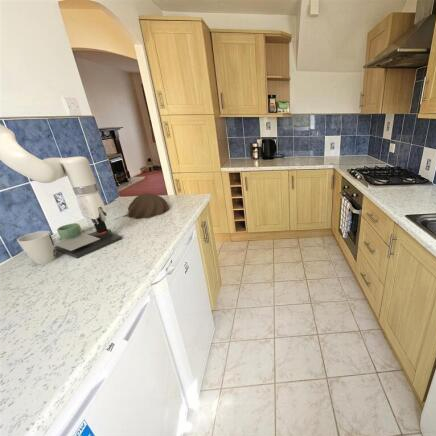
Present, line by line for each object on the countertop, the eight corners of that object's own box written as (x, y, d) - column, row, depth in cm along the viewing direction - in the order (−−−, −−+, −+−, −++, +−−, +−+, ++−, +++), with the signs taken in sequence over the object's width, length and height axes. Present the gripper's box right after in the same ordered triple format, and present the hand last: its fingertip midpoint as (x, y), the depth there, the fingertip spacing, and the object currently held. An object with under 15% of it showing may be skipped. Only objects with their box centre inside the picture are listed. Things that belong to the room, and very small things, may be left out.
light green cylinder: (58, 240, 102) (53, 228, 100) (78, 233, 108) (73, 222, 106) (67, 243, 99) (62, 231, 97) (87, 236, 105) (82, 224, 103)
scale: (56, 249, 95) (52, 243, 94) (101, 232, 108) (99, 226, 107) (77, 258, 88) (74, 251, 87) (123, 239, 102) (121, 232, 100)
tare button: (97, 235, 101) (96, 232, 101) (105, 232, 104) (104, 229, 103) (101, 237, 100) (100, 233, 99) (109, 234, 102) (108, 230, 102)
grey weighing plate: (53, 244, 92) (53, 244, 92) (83, 233, 101) (83, 233, 100) (70, 251, 87) (69, 250, 87) (100, 239, 96) (99, 238, 95)
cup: (64, 257, 89) (53, 233, 85) (35, 269, 83) (21, 243, 79) (56, 252, 93) (44, 228, 89) (27, 262, 87) (13, 238, 83)
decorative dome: (138, 206, 138) (133, 189, 134) (174, 204, 140) (170, 187, 136) (120, 219, 121) (114, 201, 117) (161, 217, 122) (156, 198, 118)
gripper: (64, 190, 94) (82, 232, 101) (85, 194, 88) (103, 239, 95) (86, 185, 100) (102, 225, 107) (107, 188, 94) (122, 231, 101)
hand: (102, 231), depth 101 cm, fingers closed
